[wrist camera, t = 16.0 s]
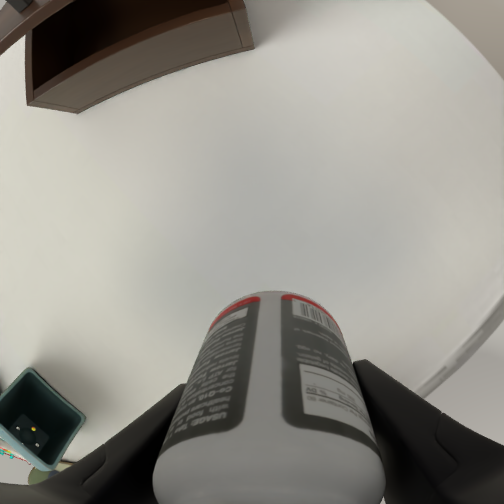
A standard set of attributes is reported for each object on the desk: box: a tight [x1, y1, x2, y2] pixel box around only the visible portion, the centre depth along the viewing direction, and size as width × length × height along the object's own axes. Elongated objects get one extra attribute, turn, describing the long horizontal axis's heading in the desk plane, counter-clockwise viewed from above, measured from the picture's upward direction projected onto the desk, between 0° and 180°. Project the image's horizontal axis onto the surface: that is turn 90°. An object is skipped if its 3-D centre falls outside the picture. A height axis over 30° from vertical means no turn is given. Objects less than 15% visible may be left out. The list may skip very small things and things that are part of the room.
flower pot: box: [0, 368, 86, 471], centre depth 23 cm, size 9×9×9 cm
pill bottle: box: [153, 291, 386, 504], centre depth 6 cm, size 5×5×8 cm
